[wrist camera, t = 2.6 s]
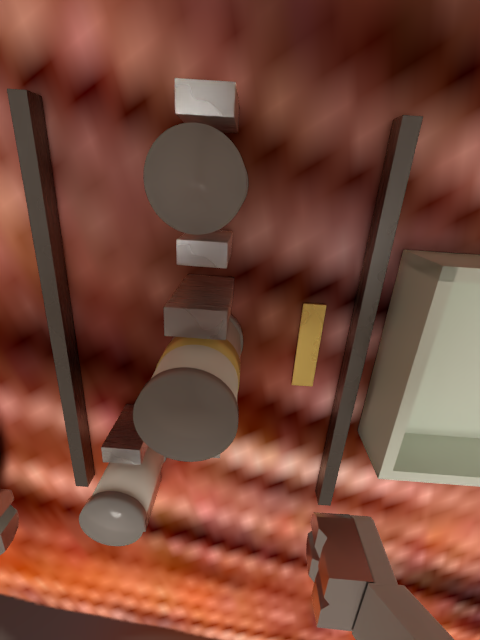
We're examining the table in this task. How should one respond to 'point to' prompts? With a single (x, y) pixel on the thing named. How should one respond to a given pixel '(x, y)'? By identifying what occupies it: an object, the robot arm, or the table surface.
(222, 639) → the table surface
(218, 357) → the cylinder
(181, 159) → the fuse cartridge near arm
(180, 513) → the table surface
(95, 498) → the fuse cartridge near camera
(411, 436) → the tray
